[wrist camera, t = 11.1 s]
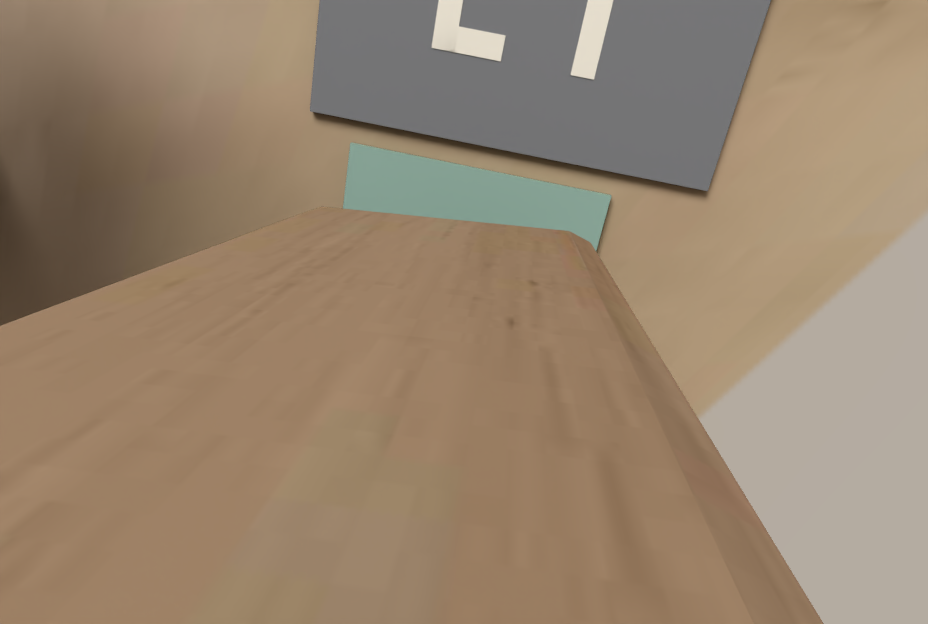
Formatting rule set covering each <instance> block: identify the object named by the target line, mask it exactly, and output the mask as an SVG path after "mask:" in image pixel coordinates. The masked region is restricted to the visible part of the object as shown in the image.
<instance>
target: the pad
mask: <svg viewBox="0 0 928 624" xmlns="http://www.w3.org/2000/svg"><path fill="white" fill-rule="evenodd" d="M610 199H611V195H608V194H604V193H599V192H594V191H589V190H584V189H579V188H574V187H569V186H564V185H559V184H554V183H549V182H544V181H539V180H534V179H530V178H525V177H520V176H515V175H510V174H505V173H500V172H495V171H490V170H485V169H480V168H475V167H470V166H465V165H460V164H456V163H451V162H446V161H441V160H436V159H431V158H426V157H421V156H416V155H411V154H406V153H401V152H396V151H391V150H386V149H382V148H377V147H372V146H367V145H362V144H357V143H350V152H349V161H348V169H347V178H346V187H345V196H344V204H343V209H352V210H362V211H372V212H383V213H393V214H403V215H413V216H423V217H433V218H443V219H453V220H464V221H474V222H484V223H494V224H504V225H514V226H524V227H534V228H544V229H555V230H565V231H570V232H572V233H574V234H576V235H578V236H580V237H581V238H583V239H585V240H587V241H589V242H591V244H592V246H593V247H594V249H595V251H596V250H597V246H598V243H599V239H600V236H601V232H602V228H603V225H604V221H605V217H606V214H607V210H608V206H609V203H610Z"/></svg>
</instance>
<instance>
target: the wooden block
mask: <svg viewBox="0 0 928 624" xmlns="http://www.w3.org/2000/svg"><path fill="white" fill-rule="evenodd" d="M0 624H823V622H822V620H821V619H820V617H819V615H818V614H817V612H816V611H815V609H814V607H813V606H812V604H811V602H810V601H809V599H808V598H807V596H806V594H805V593H804V591H803V589H802V588H801V586H800V585H799V583H798V581H797V580H796V578H795V577H794V575H793V573H792V571H791V570H790V569H789V566H788V565H787V563H786V562H785V560H784V558H783V557H782V555H781V553H780V552H779V550H778V549H777V547H776V545H775V544H774V542H773V540H772V539H771V537H770V535H769V534H768V532H767V531H766V529H765V527H764V526H763V524H762V522H761V521H760V519H759V517H758V516H757V514H756V512H755V511H754V509H753V508H752V506H751V504H750V503H749V501H748V499H747V498H746V496H745V494H744V493H743V491H742V490H741V488H740V486H739V485H738V483H737V482H736V480H735V478H734V476H733V475H732V473H731V472H730V470H729V468H728V467H727V465H726V463H725V462H724V460H723V459H722V457H721V455H720V454H719V452H718V450H717V449H716V447H715V445H714V444H713V442H712V440H711V439H710V437H709V436H708V434H707V432H706V431H705V429H704V427H703V426H702V424H701V422H700V421H699V419H698V418H697V416H696V414H695V413H694V411H693V409H692V408H691V406H690V404H689V403H688V401H687V400H686V398H685V396H684V395H683V393H682V391H681V390H680V388H679V386H678V385H677V383H676V382H675V380H674V378H673V377H672V375H671V373H670V372H669V370H668V368H667V367H666V365H665V364H664V362H663V360H662V359H661V357H660V355H659V354H658V352H657V350H656V349H655V347H654V346H653V344H652V342H651V341H650V339H649V337H648V336H647V334H646V332H645V331H644V329H643V328H642V326H641V324H640V323H639V321H638V319H637V318H636V316H635V314H634V313H633V311H632V310H631V308H630V306H629V305H628V303H627V301H626V300H625V298H624V296H623V295H622V293H621V292H620V290H619V288H618V287H617V285H616V283H615V282H614V280H613V278H612V277H611V275H610V274H609V272H608V270H607V269H606V267H605V265H604V264H603V262H602V260H601V259H600V257H599V256H598V254H597V252H596V251H595V249H594V247H593V246H592V244H591V242H589V241H587V240H585V239H583V238H581V237H580V236H578V235H576V234H574V233H572V232H570V231H565V230H555V229H544V228H534V227H524V226H514V225H504V224H494V223H484V222H474V221H464V220H453V219H443V218H433V217H423V216H413V215H403V214H393V213H383V212H372V211H362V210H352V209H342V208H332V207H319V208H316V209H313V210H310V211H307V212H304V213H301V214H298V215H295V216H293V217H290V218H287V219H285V220H282V221H279V222H277V223H274V224H271V225H269V226H266V227H263V228H261V229H258V230H255V231H253V232H250V233H247V234H245V235H242V236H239V237H237V238H234V239H231V240H229V241H226V242H223V243H220V244H218V245H215V246H212V247H210V248H207V249H204V250H202V251H199V252H196V253H194V254H191V255H188V256H186V257H183V258H180V259H178V260H175V261H172V262H170V263H167V264H164V265H162V266H159V267H156V268H154V269H151V270H148V271H146V272H143V273H140V274H138V275H135V276H132V277H129V278H127V279H124V280H121V281H119V282H116V283H113V284H111V285H108V286H105V287H103V288H100V289H97V290H95V291H92V292H89V293H87V294H84V295H81V296H79V297H76V298H73V299H71V300H68V301H65V302H63V303H60V304H57V305H55V306H52V307H49V308H47V309H44V310H41V311H39V312H36V313H33V314H30V315H28V316H25V317H22V318H20V319H17V320H14V321H12V322H9V323H6V324H4V325H1V326H0Z"/></svg>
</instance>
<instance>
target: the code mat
mask: <svg viewBox="0 0 928 624" xmlns="http://www.w3.org/2000/svg"><path fill="white" fill-rule="evenodd" d="M770 2H771V0H320V3H319V14H318V25H317V37H316V48H315V59H314V70H313V82H312V93H311V104H310V111H312V112H317V113H322V114H327V115H332V116H337V117H342V118H347V119H352V120H357V121H362V122H367V123H372V124H376V125H381V126H386V127H391V128H396V129H401V130H406V131H411V132H416V133H421V134H426V135H431V136H436V137H441V138H446V139H451V140H456V141H461V142H466V143H471V144H476V145H481V146H486V147H491V148H496V149H501V150H506V151H511V152H516V153H521V154H525V155H530V156H535V157H540V158H545V159H550V160H555V161H560V162H565V163H570V164H575V165H580V166H585V167H590V168H595V169H600V170H605V171H610V172H615V173H620V174H625V175H630V176H635V177H640V178H645V179H650V180H655V181H660V182H665V183H670V184H674V185H679V186H684V187H689V188H694V189H699V190H704V191H708V189H709V186H710V183H711V180H712V177H713V174H714V171H715V168H716V165H717V162H718V158H719V155H720V152H721V149H722V146H723V143H724V140H725V137H726V134H727V131H728V128H729V125H730V122H731V119H732V116H733V113H734V110H735V107H736V104H737V101H738V98H739V95H740V92H741V89H742V86H743V83H744V80H745V77H746V74H747V71H748V68H749V65H750V62H751V59H752V56H753V53H754V50H755V47H756V44H757V41H758V38H759V35H760V32H761V29H762V26H763V23H764V20H765V17H766V14H767V11H768V8H769V5H770Z"/></svg>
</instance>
